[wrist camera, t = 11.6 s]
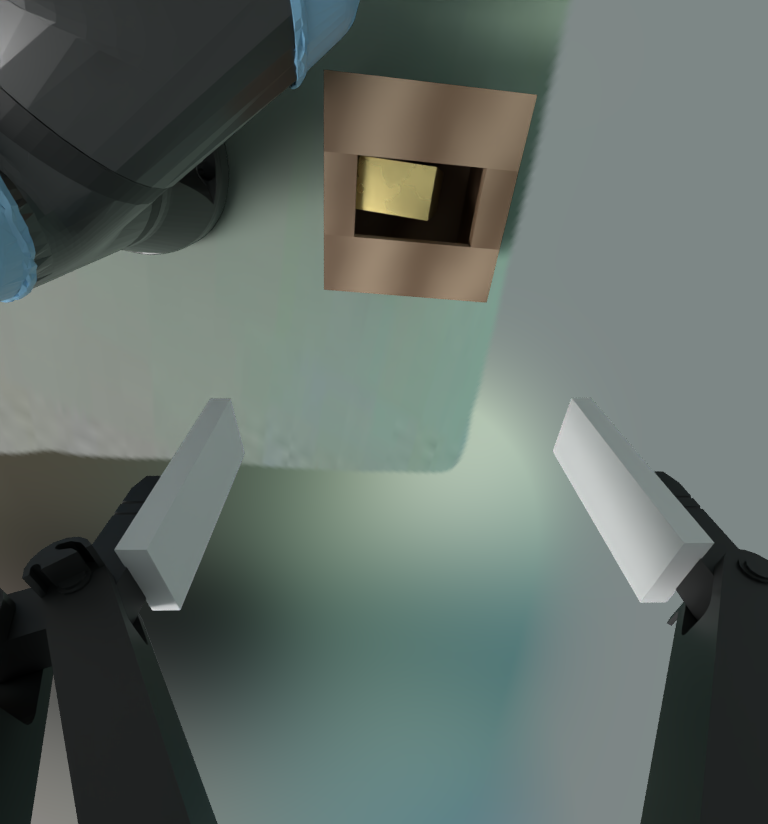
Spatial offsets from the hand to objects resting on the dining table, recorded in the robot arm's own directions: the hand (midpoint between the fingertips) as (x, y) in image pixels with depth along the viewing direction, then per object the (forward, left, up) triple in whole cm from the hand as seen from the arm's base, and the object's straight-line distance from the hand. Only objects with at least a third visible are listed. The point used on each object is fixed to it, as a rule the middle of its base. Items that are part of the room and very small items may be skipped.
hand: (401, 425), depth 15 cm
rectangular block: (-4, +5, -25) cm, 26 cm away
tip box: (-4, +5, -27) cm, 27 cm away
